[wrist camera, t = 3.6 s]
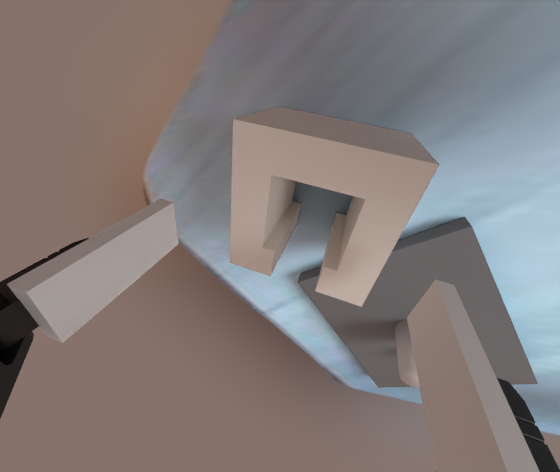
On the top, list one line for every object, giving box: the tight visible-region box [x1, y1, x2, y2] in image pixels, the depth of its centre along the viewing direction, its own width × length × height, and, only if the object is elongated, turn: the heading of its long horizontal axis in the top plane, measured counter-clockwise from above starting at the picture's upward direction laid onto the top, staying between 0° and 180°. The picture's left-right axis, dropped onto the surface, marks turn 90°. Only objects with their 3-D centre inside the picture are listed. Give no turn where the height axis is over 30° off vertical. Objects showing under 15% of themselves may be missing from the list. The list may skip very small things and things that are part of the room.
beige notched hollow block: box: [230, 107, 439, 307], centre depth 17 cm, size 10×10×8 cm
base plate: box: [298, 217, 538, 389], centre depth 23 cm, size 20×16×6 cm
